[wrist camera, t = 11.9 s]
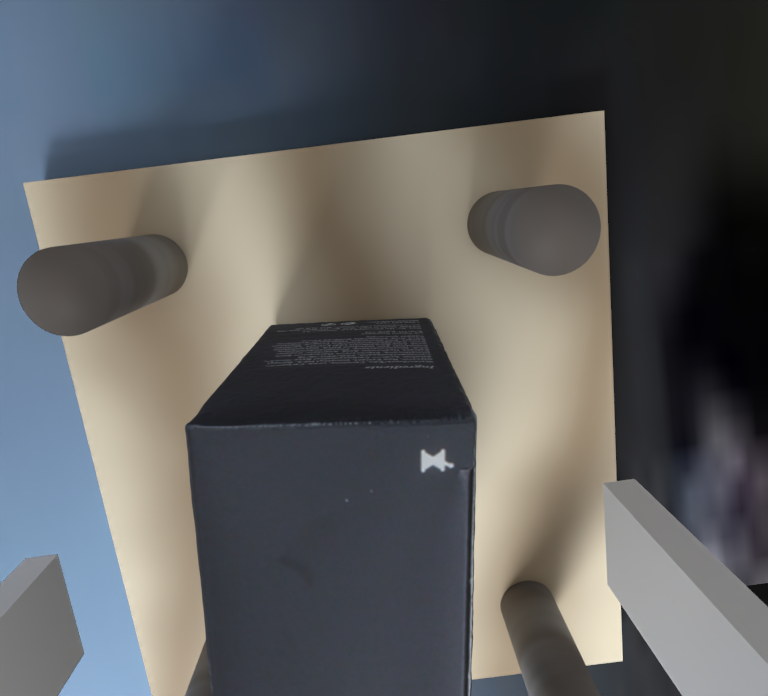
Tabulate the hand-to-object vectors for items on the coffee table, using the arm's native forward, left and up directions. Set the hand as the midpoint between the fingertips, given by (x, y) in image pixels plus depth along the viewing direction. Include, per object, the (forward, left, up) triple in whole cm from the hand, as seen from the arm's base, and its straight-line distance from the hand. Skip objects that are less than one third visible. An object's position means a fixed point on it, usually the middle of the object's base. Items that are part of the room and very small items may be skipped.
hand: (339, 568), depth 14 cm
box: (0, 0, -7) cm, 7 cm away
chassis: (0, 0, -8) cm, 8 cm away
